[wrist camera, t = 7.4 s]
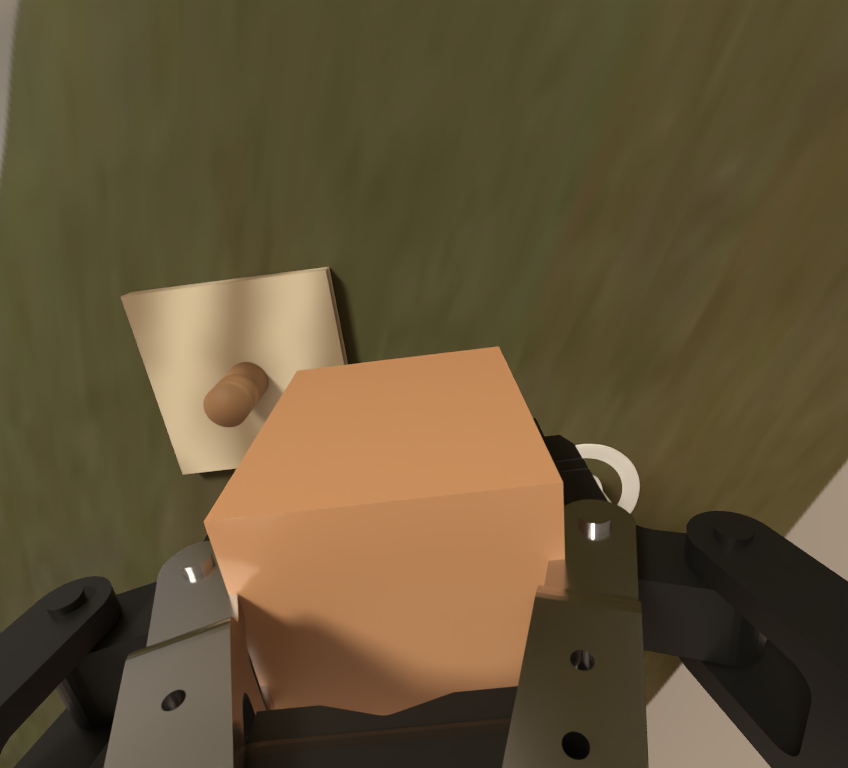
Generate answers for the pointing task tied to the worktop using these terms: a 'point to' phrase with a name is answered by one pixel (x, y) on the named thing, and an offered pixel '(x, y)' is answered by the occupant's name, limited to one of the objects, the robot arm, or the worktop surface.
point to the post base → (231, 355)
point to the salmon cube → (391, 532)
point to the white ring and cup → (621, 466)
